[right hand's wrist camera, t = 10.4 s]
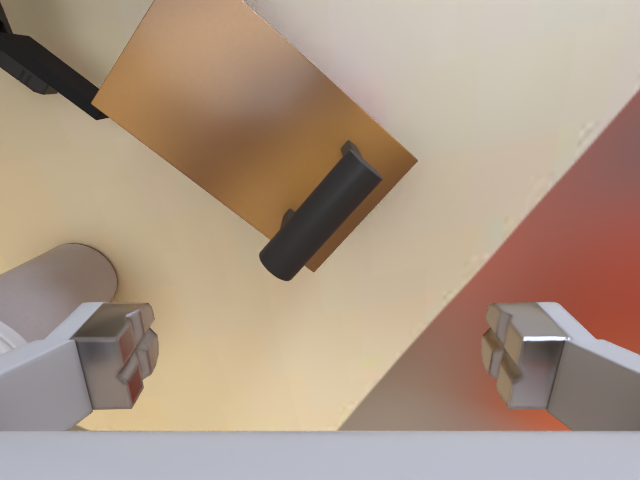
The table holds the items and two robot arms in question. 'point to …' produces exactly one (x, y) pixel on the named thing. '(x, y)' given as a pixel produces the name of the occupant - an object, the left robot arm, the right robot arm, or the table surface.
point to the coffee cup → (51, 292)
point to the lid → (253, 126)
